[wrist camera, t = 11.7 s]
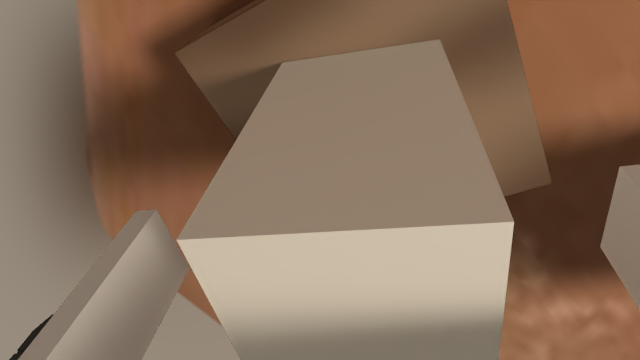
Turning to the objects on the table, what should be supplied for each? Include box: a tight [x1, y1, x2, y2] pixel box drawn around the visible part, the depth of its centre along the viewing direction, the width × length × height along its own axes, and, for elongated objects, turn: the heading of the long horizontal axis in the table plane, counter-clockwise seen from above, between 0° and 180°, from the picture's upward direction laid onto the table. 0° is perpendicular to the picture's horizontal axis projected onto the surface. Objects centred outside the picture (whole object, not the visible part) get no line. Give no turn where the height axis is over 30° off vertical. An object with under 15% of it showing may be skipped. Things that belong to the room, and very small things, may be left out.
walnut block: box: [175, 0, 552, 197], centre depth 19 cm, size 12×12×5 cm
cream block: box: [177, 39, 514, 360], centre depth 13 cm, size 6×6×10 cm
